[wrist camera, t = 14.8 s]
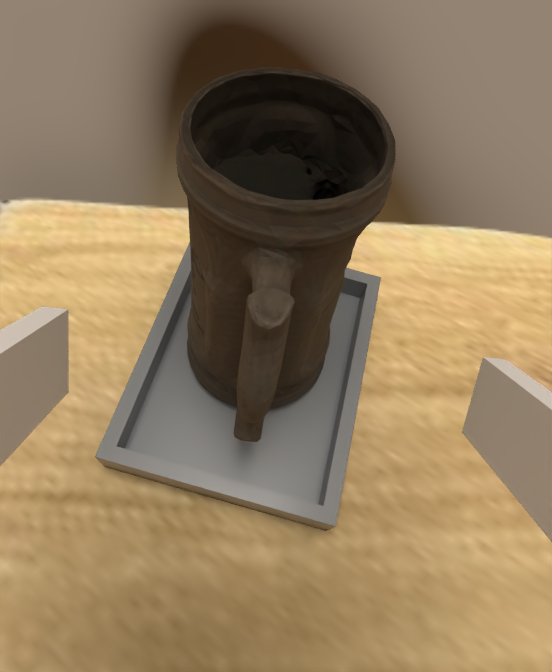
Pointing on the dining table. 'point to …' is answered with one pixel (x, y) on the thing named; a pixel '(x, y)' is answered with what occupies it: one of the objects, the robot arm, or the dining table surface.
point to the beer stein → (274, 227)
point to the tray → (219, 417)
